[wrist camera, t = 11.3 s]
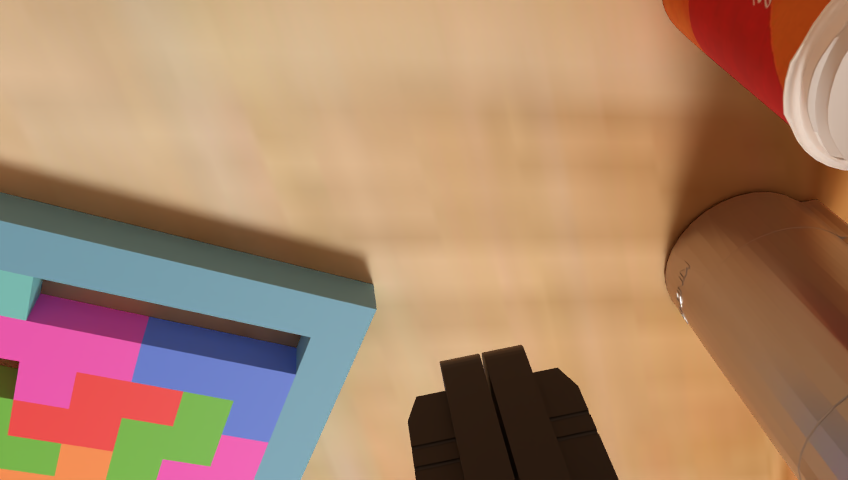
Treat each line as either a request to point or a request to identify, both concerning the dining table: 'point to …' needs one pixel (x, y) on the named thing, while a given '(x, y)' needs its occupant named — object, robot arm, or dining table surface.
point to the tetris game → (162, 354)
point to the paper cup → (781, 61)
